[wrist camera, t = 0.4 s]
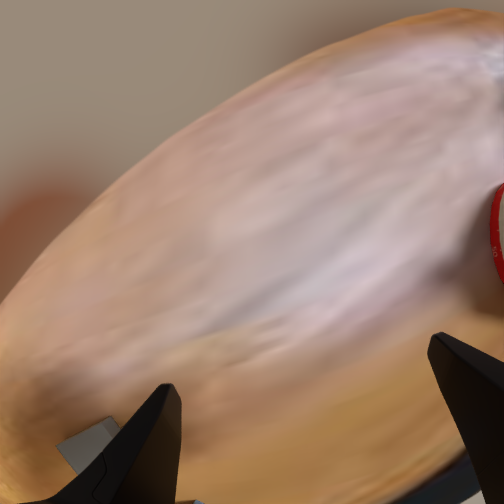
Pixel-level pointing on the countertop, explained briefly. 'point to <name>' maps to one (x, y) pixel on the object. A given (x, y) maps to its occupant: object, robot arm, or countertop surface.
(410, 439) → the countertop surface
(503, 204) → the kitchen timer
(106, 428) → the slate pad
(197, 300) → the countertop surface
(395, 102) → the countertop surface
